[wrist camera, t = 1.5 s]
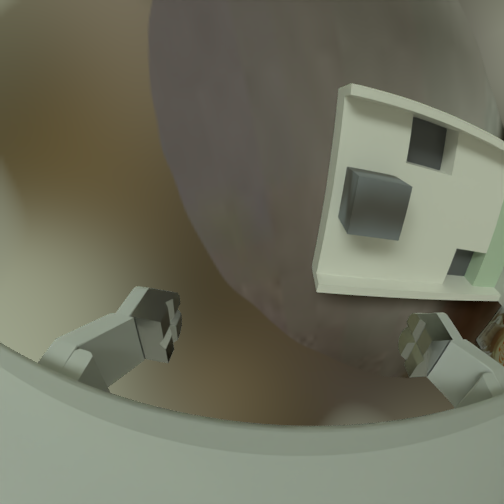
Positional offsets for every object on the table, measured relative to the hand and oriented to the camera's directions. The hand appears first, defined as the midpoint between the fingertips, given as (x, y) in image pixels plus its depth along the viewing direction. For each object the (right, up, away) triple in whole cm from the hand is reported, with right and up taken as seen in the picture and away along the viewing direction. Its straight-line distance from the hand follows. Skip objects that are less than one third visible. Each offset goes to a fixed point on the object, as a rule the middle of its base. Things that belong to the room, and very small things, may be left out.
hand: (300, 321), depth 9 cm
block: (+9, +8, +15) cm, 20 cm away
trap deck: (+21, +8, +18) cm, 29 cm away
